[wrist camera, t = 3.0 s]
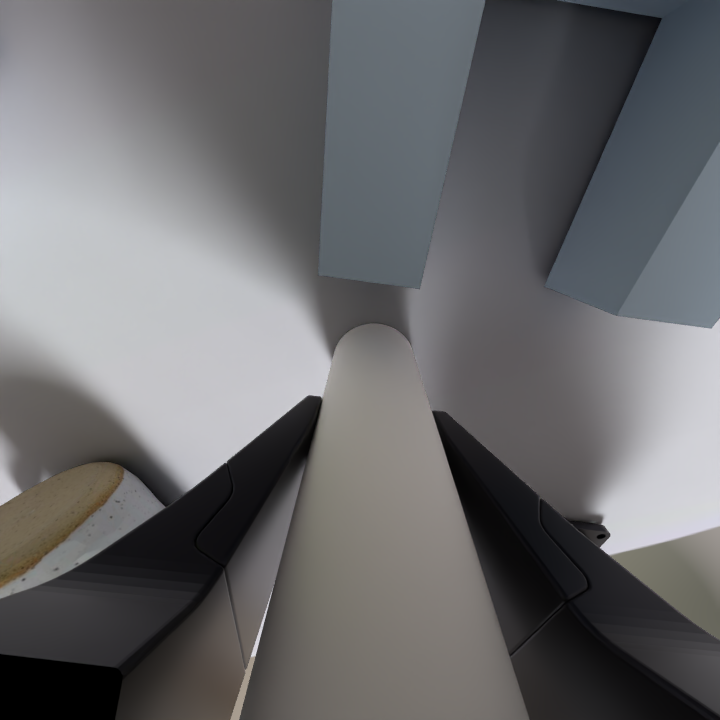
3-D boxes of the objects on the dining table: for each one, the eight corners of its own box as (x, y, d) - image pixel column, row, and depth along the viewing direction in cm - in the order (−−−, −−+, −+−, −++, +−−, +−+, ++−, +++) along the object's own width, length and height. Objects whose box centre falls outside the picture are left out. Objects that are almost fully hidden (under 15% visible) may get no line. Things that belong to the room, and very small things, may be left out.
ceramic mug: (147, 438, 14) (-61, 642, 7) (227, 529, 18) (136, 722, 11) (3, 471, 16) (-266, 657, 9) (101, 547, 20) (-42, 721, 13)
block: (885, -187, 5) (1477, -650, 2) (612, 295, 10) (711, 328, 7) (374, -290, 5) (381, -949, 2) (333, 257, 9) (317, 275, 7)
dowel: (421, 329, 11) (645, 817, 2) (404, 398, 12) (489, 840, 4) (337, 318, 11) (189, 783, 2) (330, 389, 12) (233, 821, 4)
